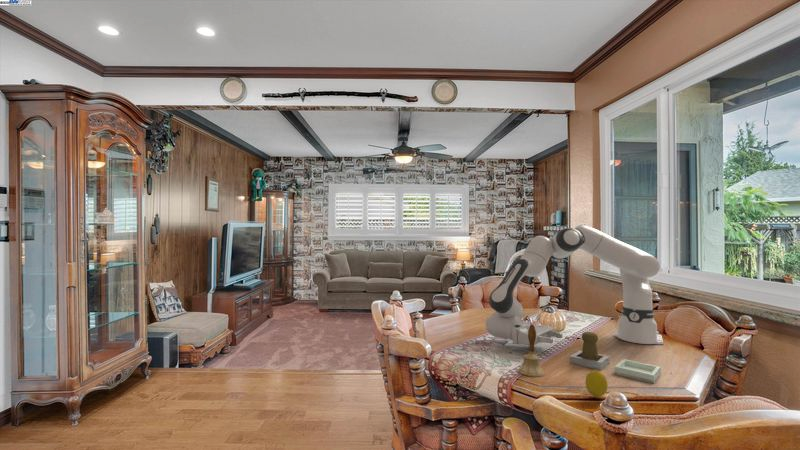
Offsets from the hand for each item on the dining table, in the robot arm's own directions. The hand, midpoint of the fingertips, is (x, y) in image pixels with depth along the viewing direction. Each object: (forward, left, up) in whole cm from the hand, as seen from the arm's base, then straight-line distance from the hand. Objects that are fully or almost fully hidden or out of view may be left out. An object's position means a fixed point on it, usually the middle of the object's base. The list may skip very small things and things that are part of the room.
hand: (557, 338), depth 146 cm
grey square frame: (0, +12, -7) cm, 13 cm away
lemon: (+30, +23, -7) cm, 38 cm away
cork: (0, +12, -7) cm, 14 cm away
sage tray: (0, +27, -7) cm, 28 cm away
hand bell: (+24, +1, -7) cm, 25 cm away
